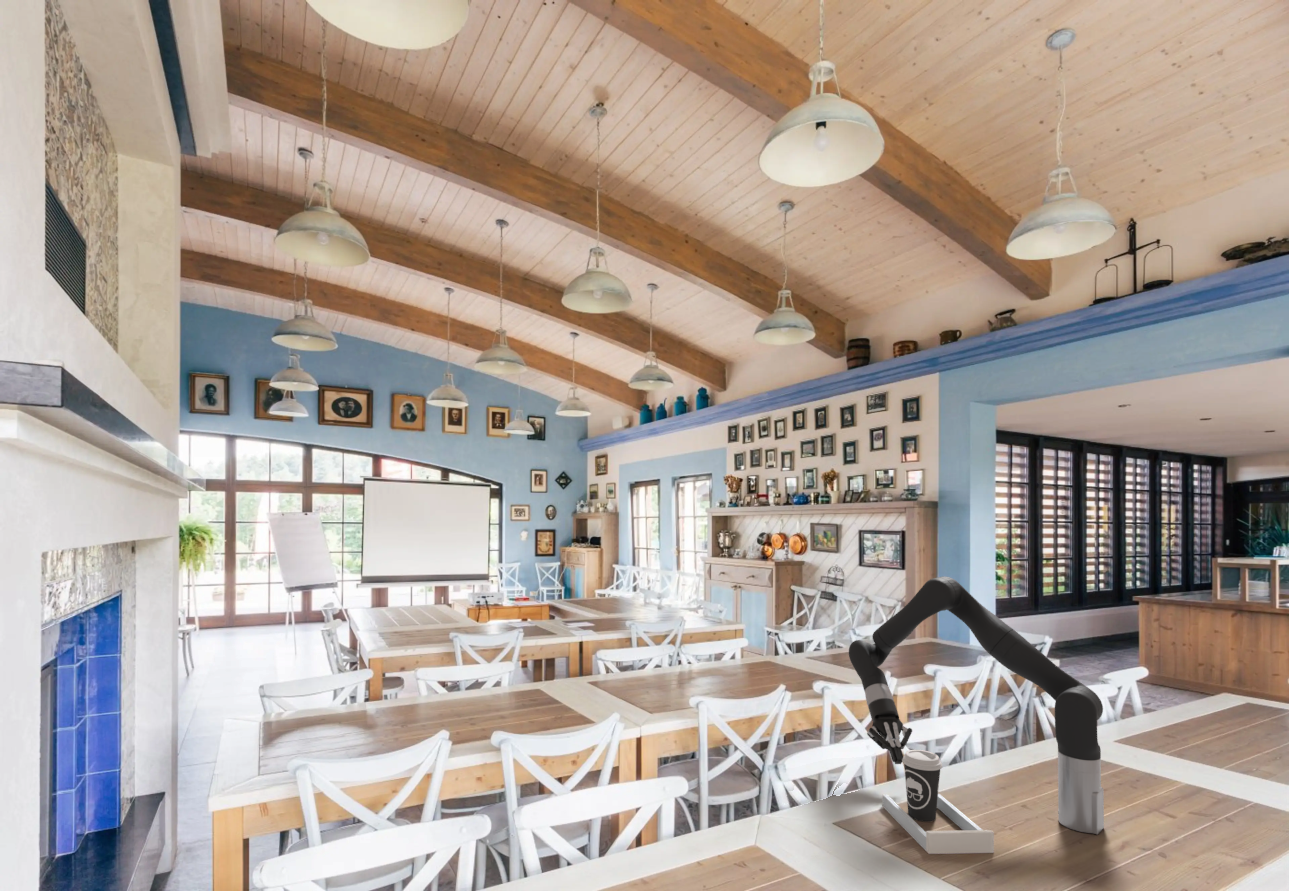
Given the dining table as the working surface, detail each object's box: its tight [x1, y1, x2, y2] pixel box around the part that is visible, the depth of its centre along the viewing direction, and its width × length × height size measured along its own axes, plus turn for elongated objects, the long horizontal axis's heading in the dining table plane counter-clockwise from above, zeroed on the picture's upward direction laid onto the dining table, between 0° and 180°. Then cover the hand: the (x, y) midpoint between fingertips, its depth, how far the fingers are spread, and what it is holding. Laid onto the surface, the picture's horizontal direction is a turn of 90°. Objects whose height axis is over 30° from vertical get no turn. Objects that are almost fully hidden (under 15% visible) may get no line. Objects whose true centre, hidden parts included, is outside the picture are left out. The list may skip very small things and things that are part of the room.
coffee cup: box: [902, 749, 943, 823], centre depth 186 cm, size 10×10×15 cm
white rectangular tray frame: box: [881, 793, 995, 855], centre depth 179 cm, size 25×15×4 cm, turn 5°
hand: (899, 762), depth 199 cm, fingers closed
